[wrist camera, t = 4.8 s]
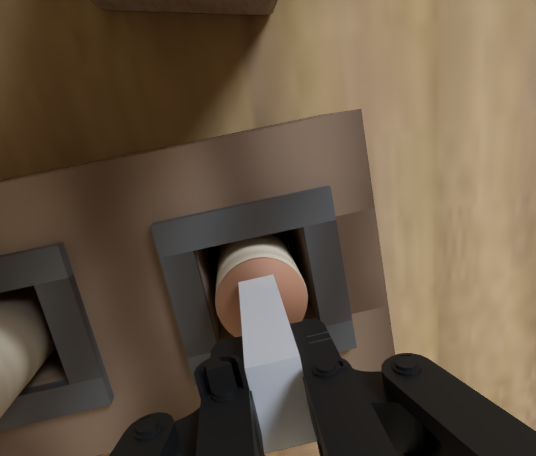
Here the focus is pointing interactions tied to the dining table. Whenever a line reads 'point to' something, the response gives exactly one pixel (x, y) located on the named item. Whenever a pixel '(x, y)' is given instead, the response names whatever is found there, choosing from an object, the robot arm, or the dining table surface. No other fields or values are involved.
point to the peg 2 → (254, 266)
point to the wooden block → (192, 6)
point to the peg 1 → (21, 342)
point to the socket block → (180, 269)
